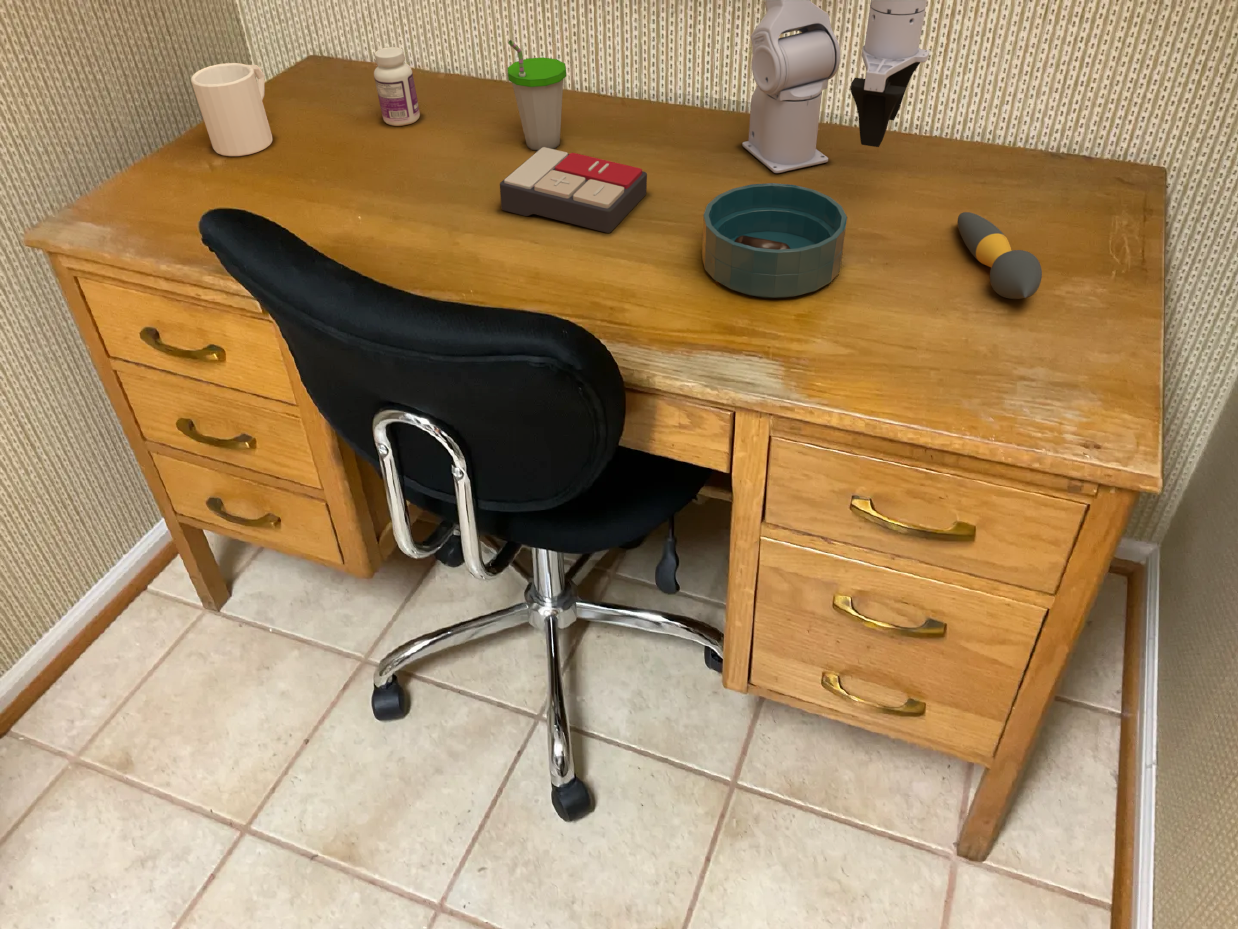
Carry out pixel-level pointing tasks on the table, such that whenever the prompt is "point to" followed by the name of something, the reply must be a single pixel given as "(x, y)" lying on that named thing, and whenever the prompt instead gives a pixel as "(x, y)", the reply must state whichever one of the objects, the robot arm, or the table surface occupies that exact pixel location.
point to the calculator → (573, 189)
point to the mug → (233, 107)
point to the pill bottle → (395, 87)
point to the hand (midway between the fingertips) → (878, 131)
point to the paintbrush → (1000, 258)
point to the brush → (761, 243)
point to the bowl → (773, 239)
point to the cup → (538, 98)
